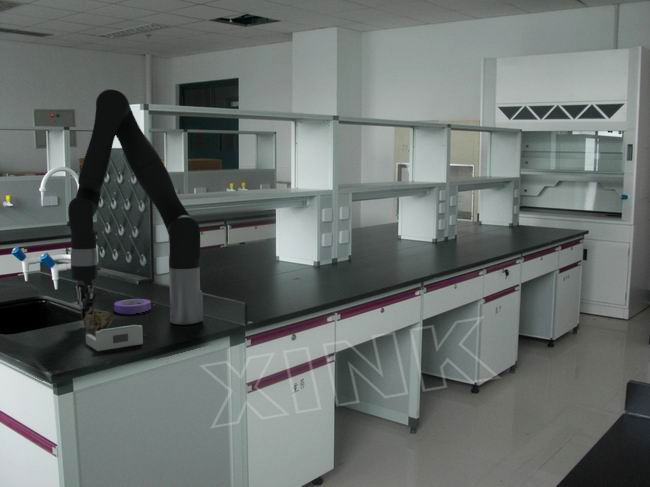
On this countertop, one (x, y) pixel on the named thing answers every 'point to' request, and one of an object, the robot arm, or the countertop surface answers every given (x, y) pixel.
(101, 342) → the dock
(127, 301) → the masking tape
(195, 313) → the robot arm
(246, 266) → the countertop surface
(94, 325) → the mineral rock
